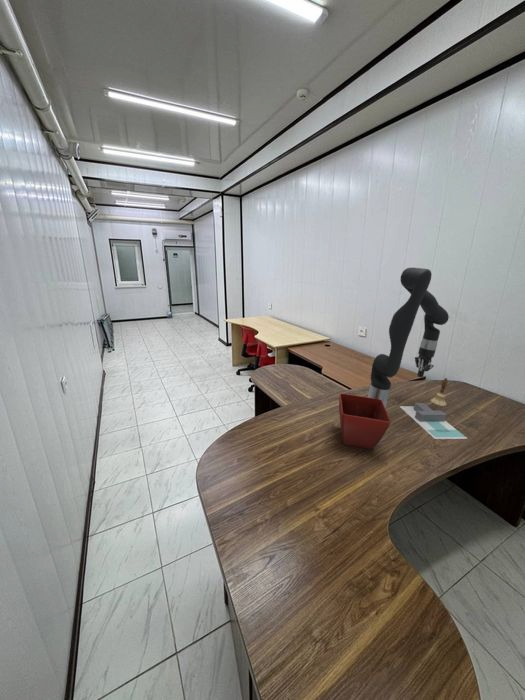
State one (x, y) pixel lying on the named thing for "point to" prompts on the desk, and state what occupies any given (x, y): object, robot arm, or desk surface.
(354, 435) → the plant pot
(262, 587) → the desk surface
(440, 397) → the hand bell
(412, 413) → the runner mat
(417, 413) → the t block
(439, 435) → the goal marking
